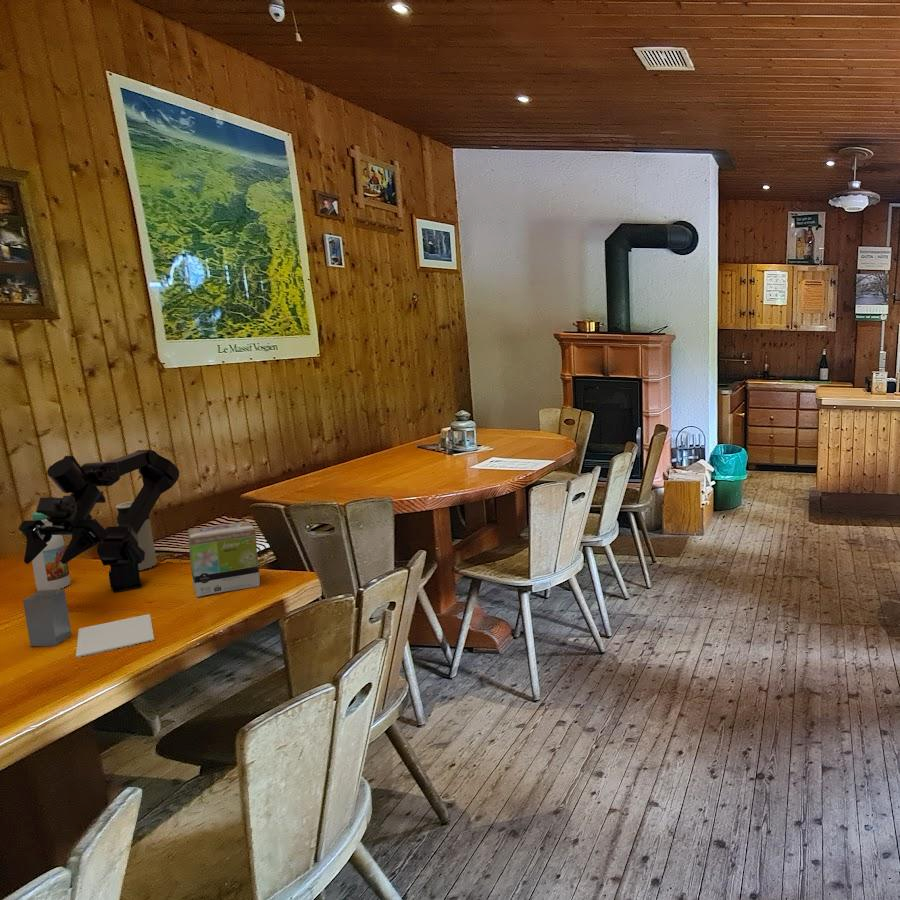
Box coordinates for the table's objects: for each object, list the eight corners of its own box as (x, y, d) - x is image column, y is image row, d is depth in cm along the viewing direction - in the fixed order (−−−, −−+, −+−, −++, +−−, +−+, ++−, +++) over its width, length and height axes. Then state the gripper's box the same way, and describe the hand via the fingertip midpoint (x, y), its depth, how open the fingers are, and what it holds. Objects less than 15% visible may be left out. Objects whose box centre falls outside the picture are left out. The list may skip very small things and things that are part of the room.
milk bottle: (35, 595, 175) (23, 517, 172) (37, 586, 182) (25, 511, 179) (70, 588, 178) (58, 511, 176) (71, 580, 185) (60, 506, 182)
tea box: (196, 599, 164) (188, 538, 162) (193, 586, 173) (186, 528, 171) (261, 586, 170) (255, 527, 168) (255, 575, 179) (249, 519, 177)
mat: (150, 615, 155) (149, 613, 155) (154, 640, 141) (154, 638, 141) (79, 630, 149) (78, 628, 149) (76, 658, 135) (75, 656, 135)
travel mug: (161, 565, 193) (151, 501, 190) (132, 573, 187) (121, 508, 184) (150, 560, 198) (139, 498, 195) (121, 569, 193) (110, 505, 190)
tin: (46, 636, 147) (39, 590, 146) (71, 634, 147) (64, 589, 145) (30, 647, 142) (22, 599, 140) (56, 645, 142) (49, 598, 140)
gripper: (22, 484, 157) (-17, 540, 147) (95, 482, 153) (60, 540, 143) (51, 515, 165) (15, 570, 155) (121, 513, 161) (89, 571, 151)
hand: (43, 562), depth 150 cm, fingers open, 9 cm apart
